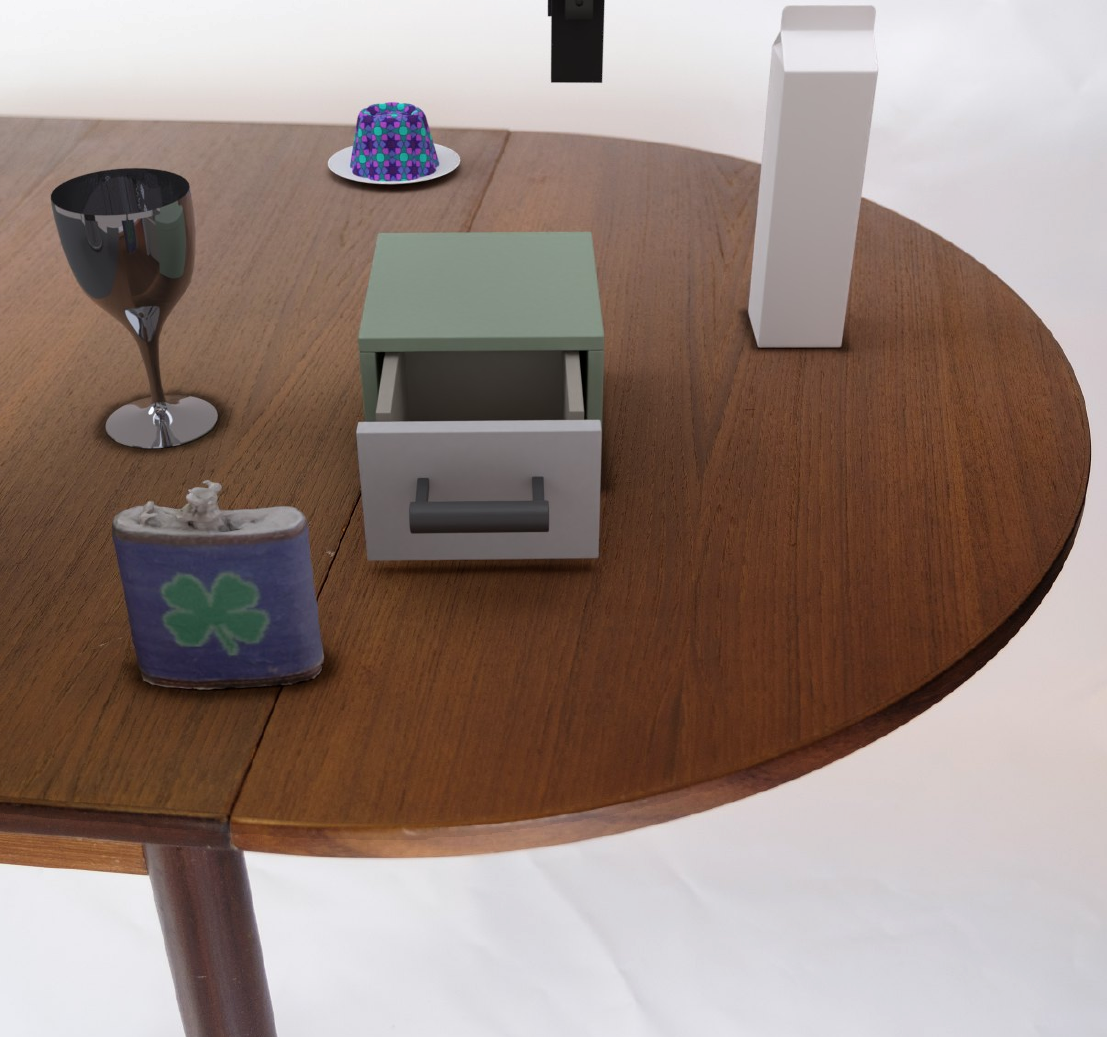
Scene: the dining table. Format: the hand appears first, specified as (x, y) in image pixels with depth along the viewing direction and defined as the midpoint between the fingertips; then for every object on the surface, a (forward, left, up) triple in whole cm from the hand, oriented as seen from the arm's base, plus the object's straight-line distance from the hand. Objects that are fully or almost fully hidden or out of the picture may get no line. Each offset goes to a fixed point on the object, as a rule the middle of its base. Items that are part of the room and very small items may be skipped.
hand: (573, 46), depth 82 cm
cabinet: (-5, -3, -22) cm, 23 cm away
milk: (+17, +11, -23) cm, 30 cm away
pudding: (-14, +46, -23) cm, 53 cm away
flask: (-18, -29, -23) cm, 41 cm away
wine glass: (-26, -2, -23) cm, 35 cm away
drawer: (-5, -15, -21) cm, 27 cm away
